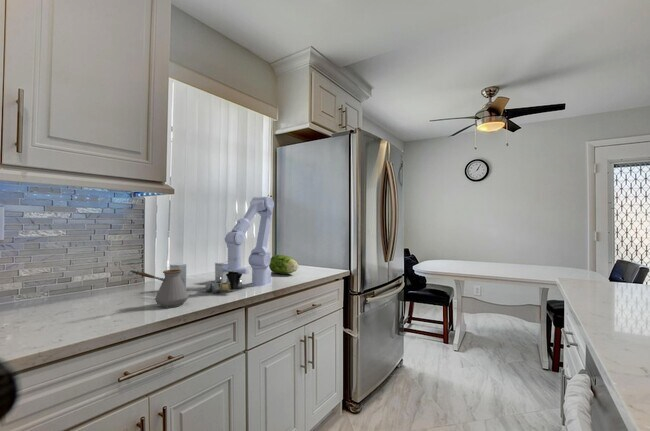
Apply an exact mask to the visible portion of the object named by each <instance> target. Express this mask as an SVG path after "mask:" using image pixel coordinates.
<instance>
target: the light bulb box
mask: <svg viewBox="0 0 650 431" xmlns="http://www.w3.org/2000/svg"><path fill="white" fill-rule="evenodd" d="M222 267H228V260H227V261H226V260H225V261H219V262H218V261H217V262H215V263H214V283H216V277H222V283H224V282H227V276H226V274H228V272H221V268H222ZM235 272H236V271H235Z"/></svg>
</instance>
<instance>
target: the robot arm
mask: <svg viewBox="0 0 650 431" xmlns="http://www.w3.org/2000/svg"><path fill="white" fill-rule="evenodd" d="M274 206H275V202H274V200H273V198H272V197H271V196H269V195H267V196H253V197H252V198H251V200H250V202H249V207H248V208H247V210H246V212H245V214H244V216H243V218H240V219H238V220H237V221H236V222H237V223H235V226H233V228H232V229H231V230H230V231H228V232H227V233H226V235H225V237H224V242H225V244H226V248H227V261H228V267H222V268H221V272H228V274H226V276H227V278H228V279H229V282H230V285H231V289H232V290H235V289H237V286H238V282H239V280H240V279H241V278H242V276H243V274H244V275H248V274H249V269H248V268H243V267H242V244H244V242H245V237H246V233H247V232H248V230H249V229H250V227H251V221H252V220H253V218H255V216H256V215H257V214H258V215H259V216H260V221H259V227H258V233H257V238H256V244H255V247H254V248H252V249H251V251H250V255H249V256H248V264H249V266H250V268H251V284H248V286H250V287H259V288H260V287H261V288H262V287H265V286H268V285H272V284H273V283H272V271H271V270H270V268H269V265H270V262H271V255H272V254H271V252H270V251H269V249H267V248H268V242H269V237H270V233H271V232H270V231H271V224H272V217H273V213H274V212H273V211H274ZM235 271H236V272H235Z"/></svg>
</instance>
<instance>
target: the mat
mask: <svg viewBox="0 0 650 431" xmlns="http://www.w3.org/2000/svg"><path fill="white" fill-rule="evenodd" d="M245 289H247V287H242V289H235V290H232V289H231V290H229V291H220V293H218V294H217V295H219V296H220V295H221V296H225V295H228V294H231V293H235V292H239V291H242V290H245ZM193 292H199V293H206V287H203V288H198V289H195V290H193ZM206 294H207V293H206ZM209 294H212V295H215V294H214V293H213V292H210V293H209Z"/></svg>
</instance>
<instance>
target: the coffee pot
mask: <svg viewBox="0 0 650 431" xmlns="http://www.w3.org/2000/svg"><path fill="white" fill-rule="evenodd" d="M181 271H182V270H170V269H166V270H164V271H162V273H163V274H164V277H160V276H155V275H152V274H149V273H146V272H142V271H141V272H140V271H139V270H138V271H136V270H130V271H129V272H128V273H127V276H128V277H132V276H133V274H135V275H139V276H141V277H145V278H149V279H150V278H151V279H154V280H158V281H162V283H161V285H160V287H159V289H158V292H157V293H156V296H155V298H154V301H155V302H156V304H158V305H159V306H160V307H161V308H175V307H180V306H183V304H184V303H185V302H186V301H188V299H189V296H190V295H189V293H188V291H187V288H186V289H185V286H184V284H183V282H182V280H181V278H180V272H181ZM130 273H131V275H130Z"/></svg>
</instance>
